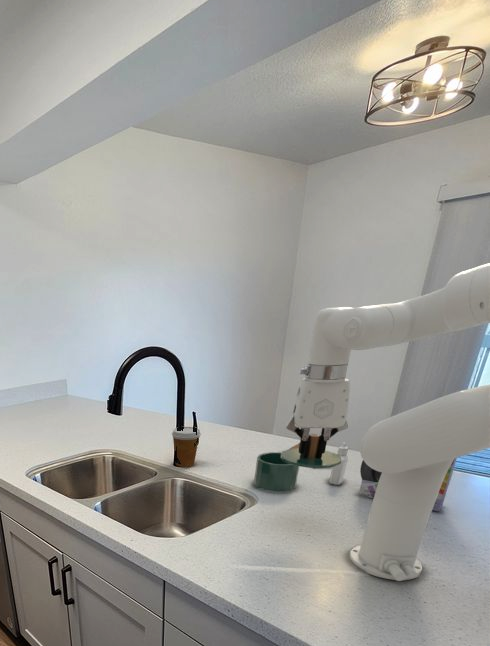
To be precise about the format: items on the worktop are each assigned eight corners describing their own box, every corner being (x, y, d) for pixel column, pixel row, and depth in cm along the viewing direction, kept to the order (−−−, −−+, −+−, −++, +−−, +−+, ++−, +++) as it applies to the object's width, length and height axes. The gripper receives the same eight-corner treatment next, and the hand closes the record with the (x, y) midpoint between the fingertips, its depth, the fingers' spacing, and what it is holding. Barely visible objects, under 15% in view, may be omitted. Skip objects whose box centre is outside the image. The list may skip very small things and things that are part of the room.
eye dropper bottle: (349, 482, 129) (358, 443, 123) (335, 486, 127) (344, 446, 121) (336, 477, 132) (344, 439, 127) (322, 481, 130) (330, 442, 125)
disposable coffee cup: (165, 462, 153) (166, 428, 147) (188, 458, 156) (190, 424, 150) (180, 470, 145) (181, 435, 139) (204, 465, 148) (207, 431, 142)
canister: (299, 493, 123) (304, 465, 120) (257, 492, 126) (260, 464, 122) (290, 479, 133) (295, 452, 129) (251, 478, 136) (254, 452, 132)
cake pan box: (353, 495, 121) (368, 432, 113) (358, 489, 124) (374, 428, 116) (438, 513, 108) (462, 445, 100) (442, 507, 111) (465, 440, 103)
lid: (348, 471, 94) (355, 443, 91) (286, 470, 96) (290, 443, 93) (330, 453, 105) (336, 427, 102) (275, 452, 107) (279, 428, 104)
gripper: (289, 376, 90) (276, 461, 98) (375, 374, 87) (354, 461, 95) (281, 371, 96) (270, 451, 105) (361, 368, 93) (343, 451, 101)
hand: (310, 455), depth 100 cm, fingers closed on lid, 2 cm apart
